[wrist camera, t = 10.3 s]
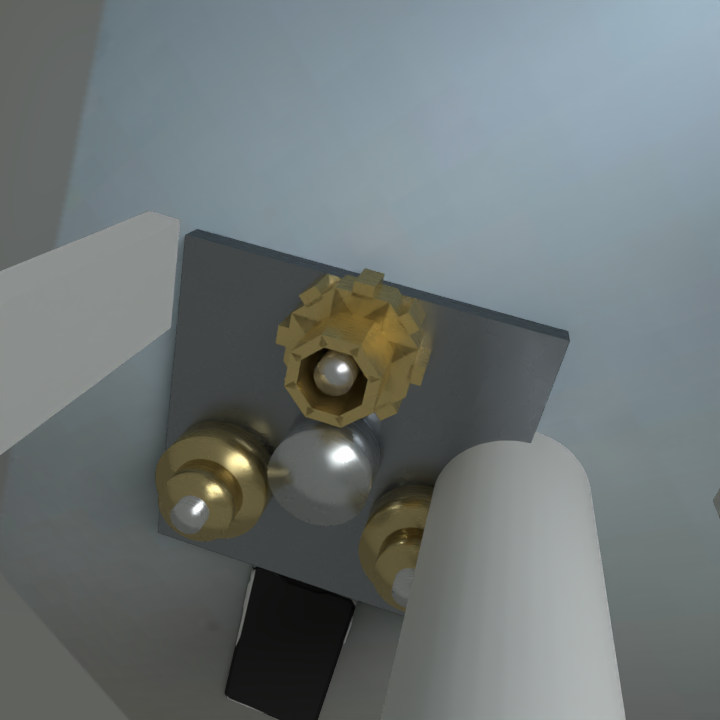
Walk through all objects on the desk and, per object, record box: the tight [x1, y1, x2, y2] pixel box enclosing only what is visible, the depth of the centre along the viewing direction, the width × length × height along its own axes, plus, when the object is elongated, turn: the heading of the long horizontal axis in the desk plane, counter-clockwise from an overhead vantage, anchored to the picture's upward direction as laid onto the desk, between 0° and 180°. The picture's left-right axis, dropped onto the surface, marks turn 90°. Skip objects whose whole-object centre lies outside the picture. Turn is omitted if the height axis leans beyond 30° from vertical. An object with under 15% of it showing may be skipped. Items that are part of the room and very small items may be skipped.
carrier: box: [155, 229, 570, 616], centre depth 39 cm, size 22×22×7 cm
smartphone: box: [225, 566, 358, 720], centre depth 50 cm, size 8×1×15 cm
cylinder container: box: [381, 432, 625, 720], centre depth 28 cm, size 9×9×30 cm
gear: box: [276, 269, 432, 428], centre depth 35 cm, size 8×8×6 cm
